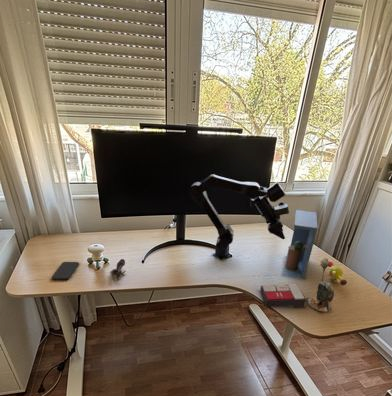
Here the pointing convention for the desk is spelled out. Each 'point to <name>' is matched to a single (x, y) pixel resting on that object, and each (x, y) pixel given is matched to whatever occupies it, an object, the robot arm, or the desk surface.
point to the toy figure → (336, 273)
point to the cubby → (303, 240)
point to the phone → (65, 271)
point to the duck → (294, 255)
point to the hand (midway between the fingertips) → (283, 234)
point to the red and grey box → (282, 295)
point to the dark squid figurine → (119, 268)
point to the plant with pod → (322, 293)
